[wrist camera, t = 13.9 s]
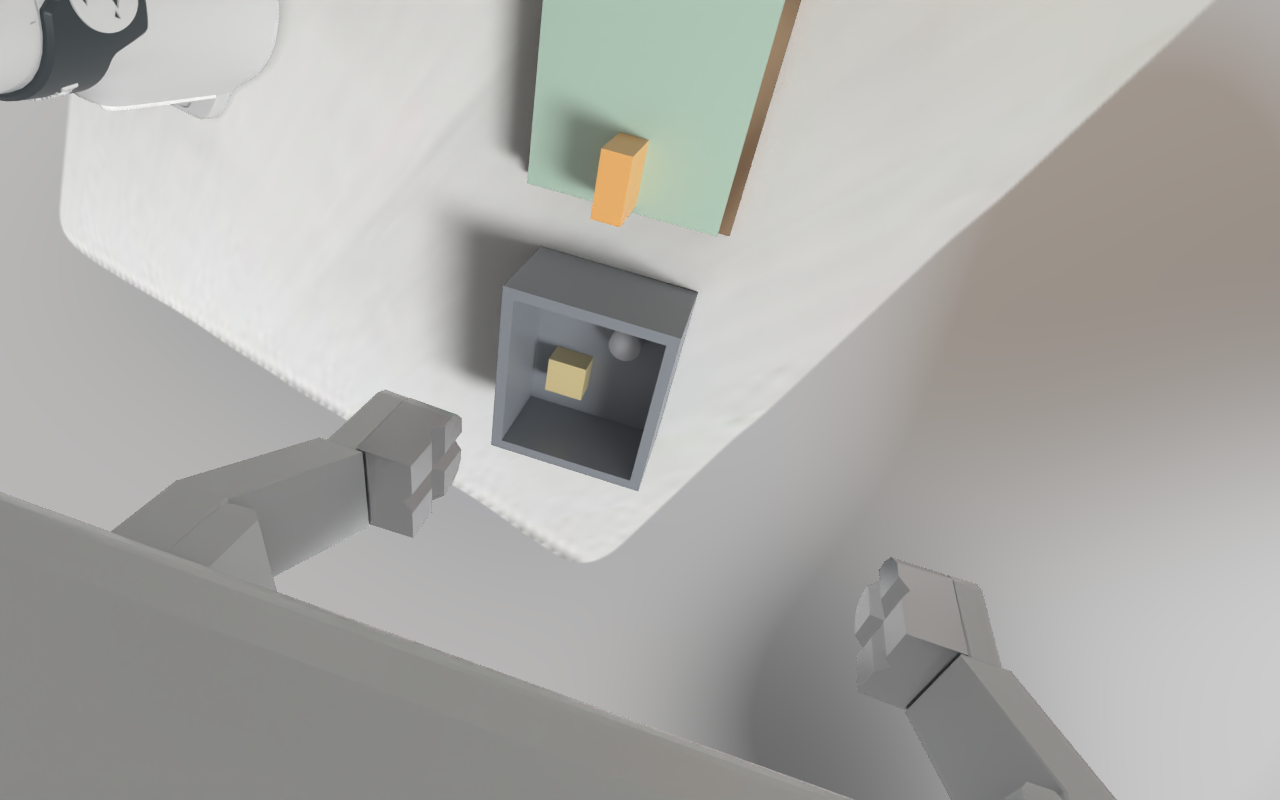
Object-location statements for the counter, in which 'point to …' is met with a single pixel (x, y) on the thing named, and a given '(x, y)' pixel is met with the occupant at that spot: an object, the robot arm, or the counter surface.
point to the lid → (648, 103)
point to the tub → (586, 364)
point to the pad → (760, 112)
